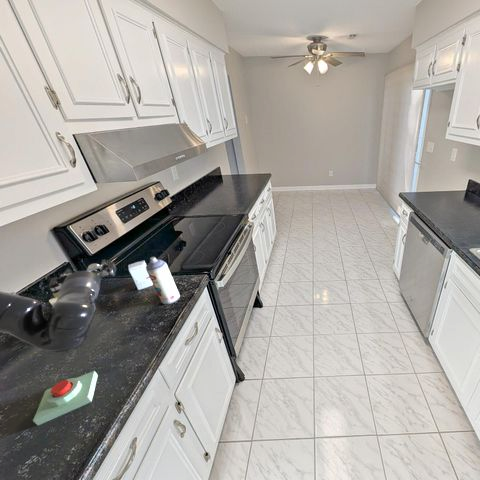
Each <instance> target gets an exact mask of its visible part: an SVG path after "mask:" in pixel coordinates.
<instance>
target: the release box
mask: <svg viewBox="0 0 480 480" xmlns="http://www.w3.org/2000/svg"><path fill="white" fill-rule="evenodd" d="M98 377H99V374H98V373H97V372H96V371H95V370H92V371H90V372H88V373H84V374H82V375H80V376H78V377H69V378H67V379H66V380H68V381H69V382H70V383H71V385H72V388H71V389H70V390H69V391H68V392H67V393H66V394H64V395H63V396H60V397H55V396H54V395H53V394H52V393H51V389H52V388H53V387H51V388H48V389H46V390H44V393H43V395H42V398H41V401H40V402H39V405H38V407H37V410H36V413H35V415H34V417H33V419H32V422H33V423H35V425H37V426H40V425H43V424H46V423H47V422H49V421H52V420H54V419H56V418H58V417H60V416H63V415H65V414H67V413H70V412H73V411H74V410H76V409H79V408H81V407H83V406H86V405H88V404H90V403H92V402H93V399H94V394H95V389H96V386H97V381H98Z"/></svg>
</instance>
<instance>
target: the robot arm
mask: <svg viewBox="0 0 480 480" xmlns="http://www.w3.org/2000/svg"><path fill="white" fill-rule="evenodd" d="M95 270H97V271H95ZM116 273H117V266H116V263H115V262H114V261H109V260H108V259H101V263H100V264H99V266H95V267H93V268H91V269H90V270H88V269H85V270H77V271H74V272H73V271H72V269H71V268H67V269H66V270H64V272H62V274H60V276H59V277H57V276H53V277H51V278H50V281H49V284H48V287H49V289H50V291H51V292H52V295H53V294H55V293H58V292H59V294H58V298H57V301H56V303H55V304H54V305H53V306H52V307H51V309H50V310H49V311H50V312H49V314H48V316H47V318H46V317H45V313H44V304H43V303H42V302H41V300H38V299H35V298H31V297H27V296H24V295H20V294H18V295H14V294H10V293H11V292H5V291H0V333H3V334H9V335H10V336H12V337H15V338H16V339H19V340H20V341H22V342H24V343H27V344H29V345H30V346H33V347H35V348H37V349H40V350H43V351H45V352H50V353H66V352H70V351H74V350H77V349H78V348H80V347H81V346H82V345H83V344H84V343H85V341H86V339H87V337H88V334H89V332H90V329H91V326H92V323H93V321H94V318H95V314H96V311H97V310H96V309H97V305H96V301H97V299H98V297H99V293H100V290H101V289H100V287H101V280H103V278H104V277H107V276H109V277H110V278H112V277H115V276H116Z"/></svg>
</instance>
